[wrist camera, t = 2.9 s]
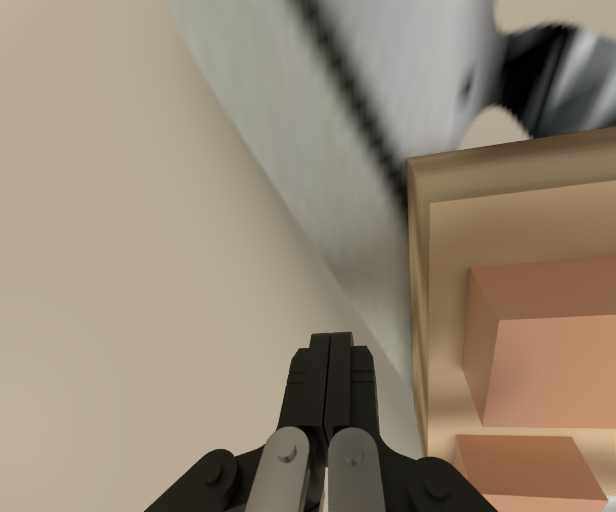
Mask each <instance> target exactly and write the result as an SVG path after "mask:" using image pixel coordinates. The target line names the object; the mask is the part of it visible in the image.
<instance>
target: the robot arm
mask: <svg viewBox="0 0 616 512" xmlns="http://www.w3.org/2000/svg"><path fill="white" fill-rule="evenodd" d="M325 467H328V512H498V511H497V510H496V509H495V508H494V507H493V506H492V505H491V504H490V503H489V502H488V501H487V500H486V499H485V497H484V496H483V495H482V494H481V493H480V492H479V491H478V490H477V489H476V488H475V487H474V486H473V485H472V484H471V483H470V482H469V481H468V480H467V479H466V478H465V477H464V476H463V475H462V474H461V473H460V472H459V471H458V470H457V469H456V468H455V467H454V466H453V465H451V464H450V463H449V462H447V461H445V460H443V459H441V458H438V457H432V456H430V457H423V458H420V459H418V460H414V459H412V458H409V457H406V456H404V455H401V454H399V453H396V452H395V451H393V450H392V449H390V448H389V447H388V446H387V445H386V444H385V443H384V441H383V440H382V438H381V436H380V432H379V416H378V401H377V387H376V377H375V370H374V362H373V356H372V355H371V353H370V351H369V349H368V348H367V346H354V343H353V336H352V332H337V333H318V334H312V335H311V341H310V346H309V348H300V349H298V351H297V352H296V354H295V355H294V357H293V358H292V360H291V365H290V370H289V375H288V379H287V385H286V389H285V394H284V398H283V403H282V408H281V413H280V418H279V422H278V426H277V429H276V431H275V432H274V433H273V434H272V435H271V436H270V437H269V439H268V440H267V442H266V444H264V445H263V446H262V447H260V448H258V449H256V450H253V451H250V452H247V453H244V454H241V455H239V456H235V457H234V455H233V454H232V453H231V452H230V451H227V450H225V449H216V450H213V451H211V452H209V453H207V454H206V455H204V456H203V457H202V458H201V459H200V460H199V461H198V462H197V463H196V464H194V465H193V466H192V467H191V468H190V469H189V470H188V471H187V472H186V473H185V474H184V475H183V476H182V477H180V478H179V479H178V480H177V481H176V482H175V483H174V484H173V485H172V486H171V487H170V488H169V489H168V490H167V491H165V492H164V493H163V494H162V495H161V496H160V497H159V498H158V499H157V500H156V501H155V502H154V503H153V504H151V505H150V506H149V507H148V508H147V509H146V510H145V511H144V512H323V506H324V498H325V490H324V480H325V479H324V478H325Z"/></svg>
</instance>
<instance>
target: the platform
mask: <svg viewBox="0 0 616 512" xmlns="http://www.w3.org/2000/svg"><path fill="white" fill-rule="evenodd" d="M407 190H408V223H409V256H410V289H411V322H412V356H413V389H414V410H415V415H416V421H417V427H418V432H419V439H420V445H421V450H422V456H423V457H430V456H432V457H438V458H441V459H443V460H445V461H447V462H449V463H450V464H451V465H453V460H454V449H455V437H456V435H503V436H560V437H572V438H573V440H574V442H575V443H576V445H577V447H578V449H579V450H580V452H581V454H582V456H583V457H584V459H585V461H586V463H587V464H588V466H589V468H590V470H591V471H592V473H593V475H594V477H595V478H596V480H597V482H598V483H599V485H600V487H601V489H602V490H603V492H604V494H605V495H616V429H596V428H518V427H482V425H481V422H480V419H479V416H478V413H477V410H476V407H475V405H474V402H473V399H472V396H471V393H470V390H469V387H468V384H467V381H466V379H465V376H464V373H463V370H462V357H463V346H464V335H465V323H466V312H467V300H468V289H469V277H470V268H474V267H486V266H498V265H510V264H523V263H535V262H547V261H559V260H571V259H583V258H596V257H608V256H616V126H615V127H608V128H602V129H595V130H589V131H582V132H576V133H569V134H563V135H556V136H550V137H543V138H537V139H530V140H524V141H517V142H511V143H504V144H498V145H491V146H485V147H478V148H472V149H465V150H458V151H452V152H445V153H439V154H432V155H426V156H419V157H413V158H407Z"/></svg>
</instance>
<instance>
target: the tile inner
mask: <svg viewBox="0 0 616 512" xmlns="http://www.w3.org/2000/svg"><path fill="white" fill-rule="evenodd" d="M462 370H463V373H464V376H465V379H466V381H467V384H468V387H469V390H470V393H471V396H472V399H473V402H474V405H475V407H476V410H477V413H478V416H479V419H480V422H481V425H482V427H518V428H596V429H616V256H608V257H596V258H583V259H571V260H559V261H547V262H535V263H523V264H510V265H498V266H486V267H474V268H470V277H469V289H468V300H467V312H466V323H465V335H464V346H463V357H462Z"/></svg>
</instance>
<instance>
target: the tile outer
mask: <svg viewBox="0 0 616 512" xmlns="http://www.w3.org/2000/svg"><path fill="white" fill-rule="evenodd" d="M453 466H454V467H455V468H456V469H457V470H458V471H459V472H460V473H461V474H462V475H463V476H464V477H465V478H466V479H467V480H468V481H469V482H470V483H471V484H472V485H473V486H474V487H475V488H476V489H477V490H478V491H479V492H480V493H481V494H482V495H483V496H484V497H485V499H486V500H487V501H488V502H489V503H490V504H491V505H492V506H493V507H494V508H495V509H496V510H497V511H498V512H601V511H602V510H603V508H604V507H605V505H606V504H607V502H608V499H607V497H606V496H605V494H604V492H603V490H602V489H601V487H600V485H599V483H598V482H597V480H596V478H595V477H594V475H593V473H592V471H591V470H590V468H589V466H588V464H587V463H586V461H585V459H584V457H583V456H582V454H581V452H580V450H579V449H578V447H577V445H576V443H575V442H574V440H573V438H572V437H560V436H503V435H456V437H455V449H454V460H453Z"/></svg>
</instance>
